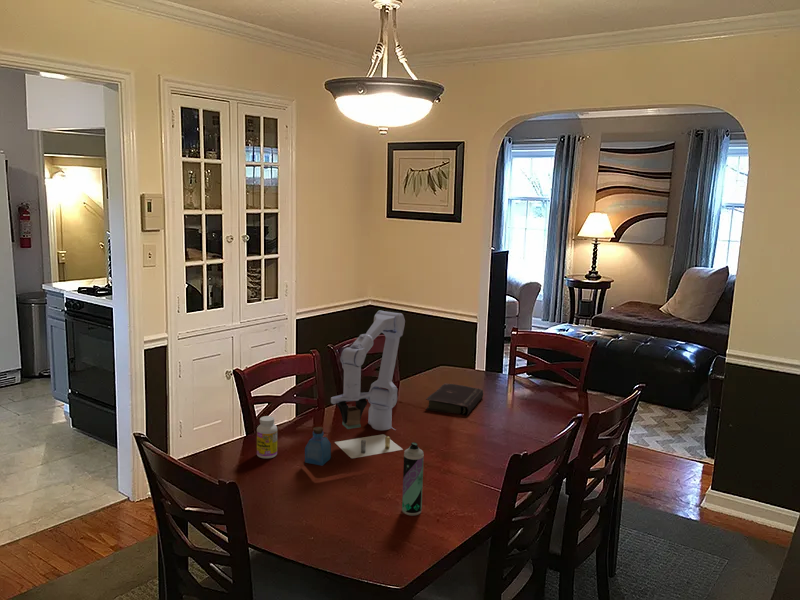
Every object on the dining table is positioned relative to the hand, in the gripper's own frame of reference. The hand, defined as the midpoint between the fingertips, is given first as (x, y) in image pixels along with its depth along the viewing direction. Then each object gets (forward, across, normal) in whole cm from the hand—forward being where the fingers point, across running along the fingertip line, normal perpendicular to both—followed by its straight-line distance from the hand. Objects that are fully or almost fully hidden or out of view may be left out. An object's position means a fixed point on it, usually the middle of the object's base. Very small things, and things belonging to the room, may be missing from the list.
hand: (351, 421), depth 231 cm
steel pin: (+8, +1, -8) cm, 12 cm away
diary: (+10, +58, +26) cm, 64 cm away
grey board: (+10, +5, -4) cm, 11 cm away
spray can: (+10, -2, -48) cm, 49 cm away
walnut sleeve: (+2, 0, 0) cm, 2 cm away
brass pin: (+8, +10, -8) cm, 15 cm away
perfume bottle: (+10, -15, -8) cm, 20 cm away
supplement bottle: (+10, -28, +5) cm, 30 cm away
